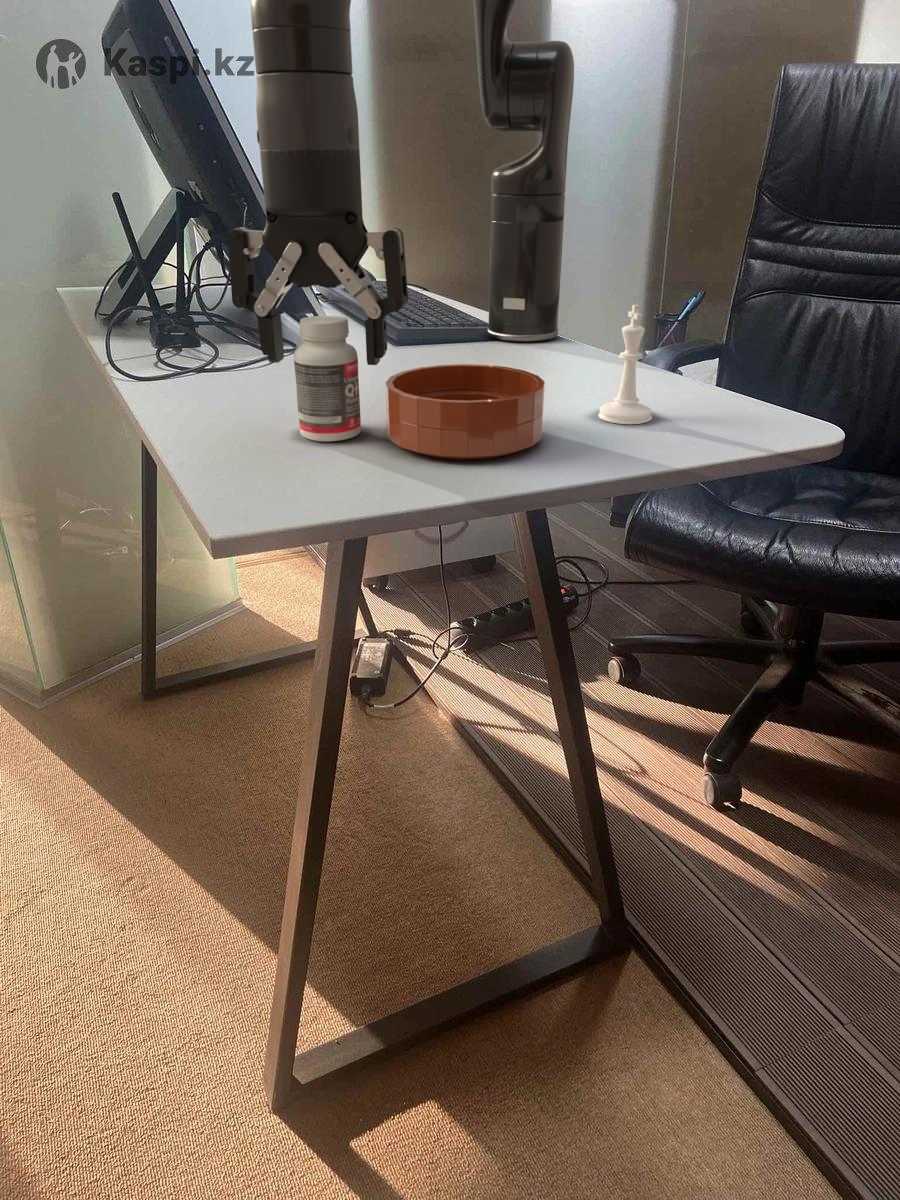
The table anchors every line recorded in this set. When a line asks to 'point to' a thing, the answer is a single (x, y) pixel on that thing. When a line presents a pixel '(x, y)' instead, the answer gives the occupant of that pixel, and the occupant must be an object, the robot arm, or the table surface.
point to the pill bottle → (327, 380)
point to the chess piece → (628, 380)
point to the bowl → (464, 410)
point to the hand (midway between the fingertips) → (324, 362)
